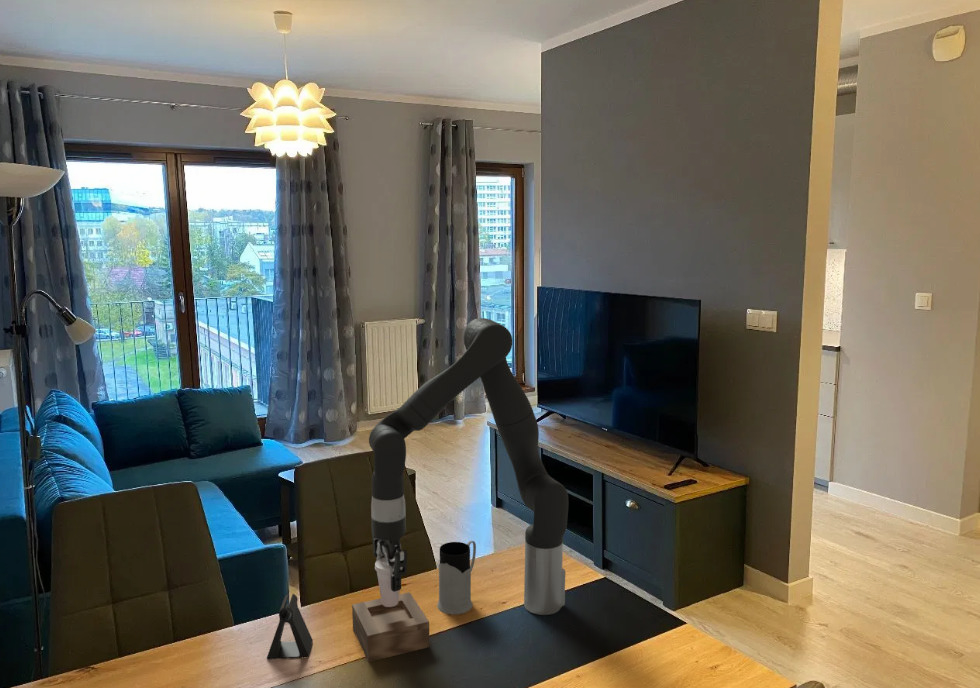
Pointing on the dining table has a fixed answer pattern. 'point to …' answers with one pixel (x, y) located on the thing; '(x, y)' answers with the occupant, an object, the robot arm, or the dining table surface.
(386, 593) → the smoothie
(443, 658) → the dining table surface
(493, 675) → the dining table surface
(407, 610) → the walnut tray
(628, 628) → the dining table surface
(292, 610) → the phone stand
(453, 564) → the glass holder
